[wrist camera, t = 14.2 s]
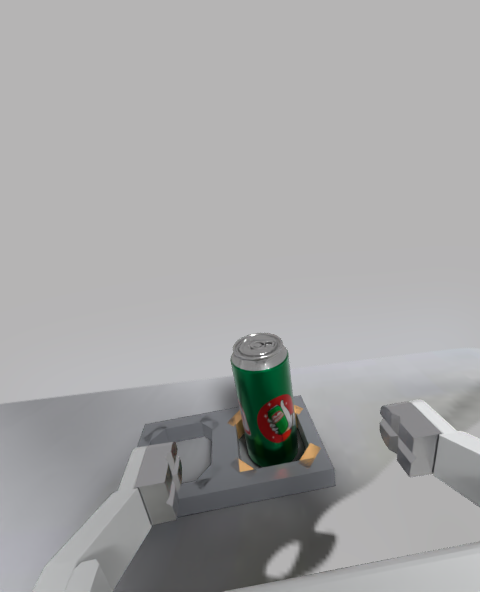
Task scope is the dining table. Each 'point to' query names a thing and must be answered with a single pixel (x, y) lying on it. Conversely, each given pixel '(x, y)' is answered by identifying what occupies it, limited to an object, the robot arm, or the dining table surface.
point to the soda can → (265, 398)
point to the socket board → (235, 473)
